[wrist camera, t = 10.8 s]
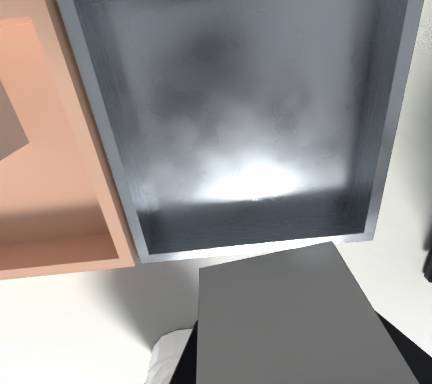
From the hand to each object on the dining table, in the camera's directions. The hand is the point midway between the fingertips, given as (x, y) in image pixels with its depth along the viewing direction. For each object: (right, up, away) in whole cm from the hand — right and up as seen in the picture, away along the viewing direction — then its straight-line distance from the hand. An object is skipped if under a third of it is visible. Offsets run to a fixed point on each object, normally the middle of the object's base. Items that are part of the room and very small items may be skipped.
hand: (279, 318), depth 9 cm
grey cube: (0, 0, +1) cm, 1 cm away
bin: (0, +8, +7) cm, 10 cm away
